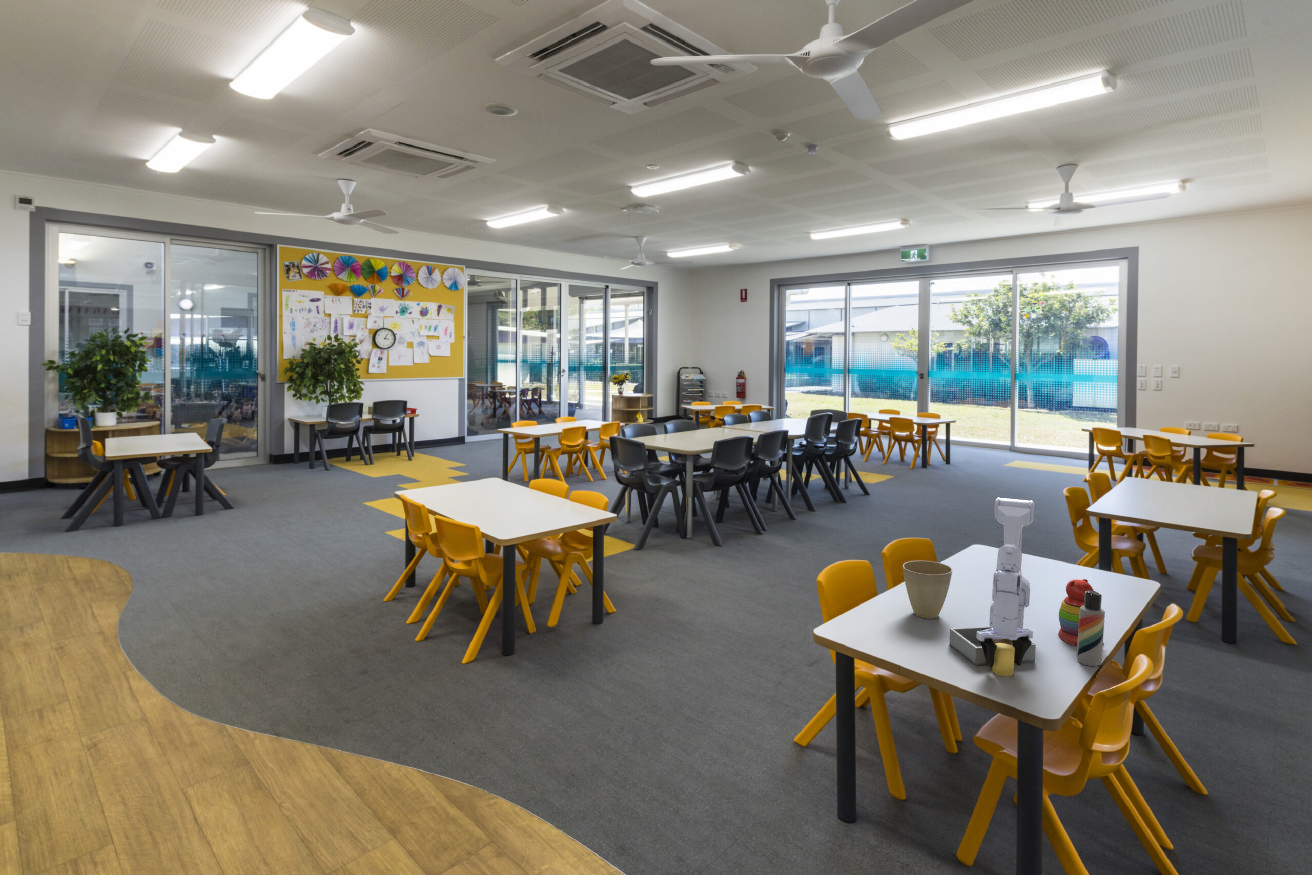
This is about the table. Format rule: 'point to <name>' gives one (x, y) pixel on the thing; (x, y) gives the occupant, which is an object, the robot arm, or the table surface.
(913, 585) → the plant pot
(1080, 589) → the stacking bear
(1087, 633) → the lotion bottle
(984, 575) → the table surface
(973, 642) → the tray
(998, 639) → the wooden block
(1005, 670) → the mustard cylinder
